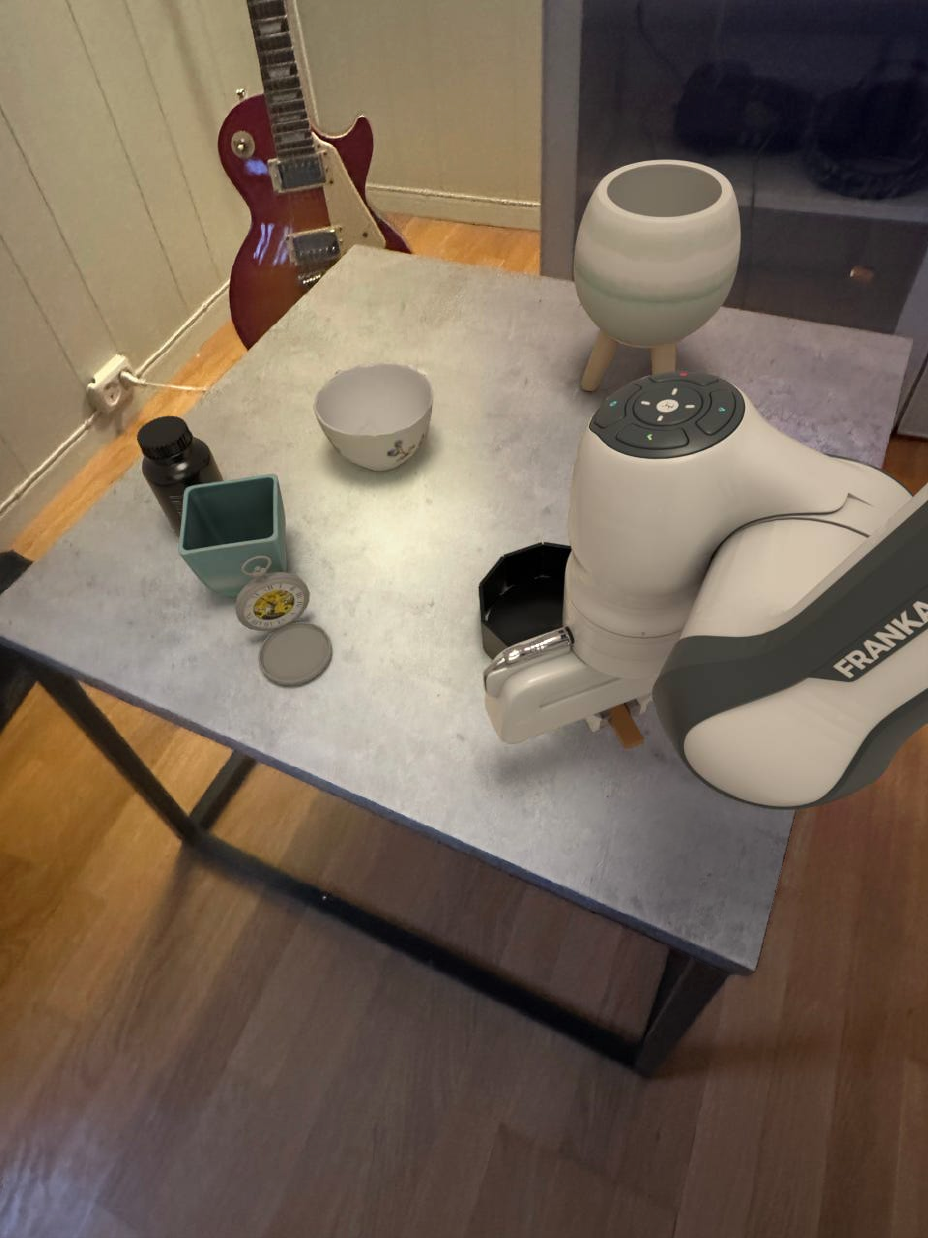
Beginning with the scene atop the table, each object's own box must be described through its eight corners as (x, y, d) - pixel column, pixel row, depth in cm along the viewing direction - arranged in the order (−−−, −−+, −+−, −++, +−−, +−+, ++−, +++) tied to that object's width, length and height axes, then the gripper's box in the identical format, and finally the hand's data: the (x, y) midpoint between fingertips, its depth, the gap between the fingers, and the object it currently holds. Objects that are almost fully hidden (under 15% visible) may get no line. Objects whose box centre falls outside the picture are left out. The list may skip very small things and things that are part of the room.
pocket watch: (304, 699, 66) (272, 633, 58) (231, 662, 69) (192, 595, 61) (356, 632, 70) (334, 561, 62) (286, 599, 73) (256, 528, 65)
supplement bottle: (248, 502, 82) (210, 412, 72) (220, 548, 78) (176, 460, 68) (192, 493, 83) (148, 404, 74) (162, 538, 80) (111, 450, 70)
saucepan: (701, 741, 61) (711, 712, 58) (555, 798, 59) (556, 773, 56) (584, 559, 74) (586, 526, 70) (460, 601, 72) (456, 570, 68)
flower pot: (300, 535, 78) (277, 470, 71) (302, 601, 73) (277, 538, 66) (216, 549, 78) (183, 485, 71) (212, 616, 73) (177, 555, 66)
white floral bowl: (461, 460, 83) (455, 400, 77) (363, 510, 80) (349, 452, 73) (393, 394, 91) (382, 335, 85) (301, 437, 88) (282, 378, 81)
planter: (539, 390, 90) (541, 193, 72) (631, 332, 95) (654, 136, 77) (644, 454, 82) (675, 251, 64) (737, 386, 87) (790, 182, 69)
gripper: (500, 703, 45) (507, 797, 56) (798, 593, 48) (748, 703, 59) (463, 624, 49) (476, 727, 60) (742, 527, 52) (705, 642, 63)
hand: (613, 714), depth 59 cm, fingers closed on saucepan
